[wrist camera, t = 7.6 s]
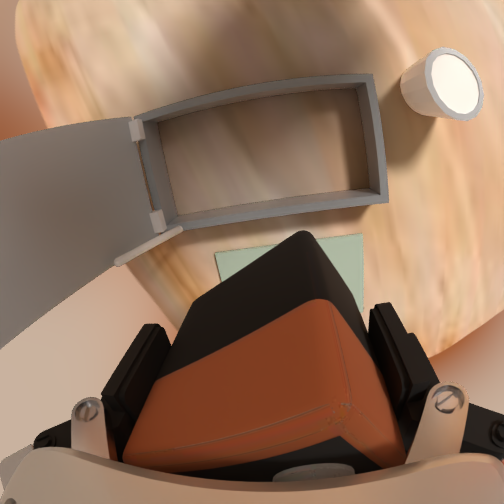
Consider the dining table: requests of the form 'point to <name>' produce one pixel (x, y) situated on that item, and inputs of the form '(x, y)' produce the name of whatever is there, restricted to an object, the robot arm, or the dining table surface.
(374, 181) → the case
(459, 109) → the shot glass
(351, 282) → the rubber mat
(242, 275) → the battery
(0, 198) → the case lid
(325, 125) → the dining table surface
